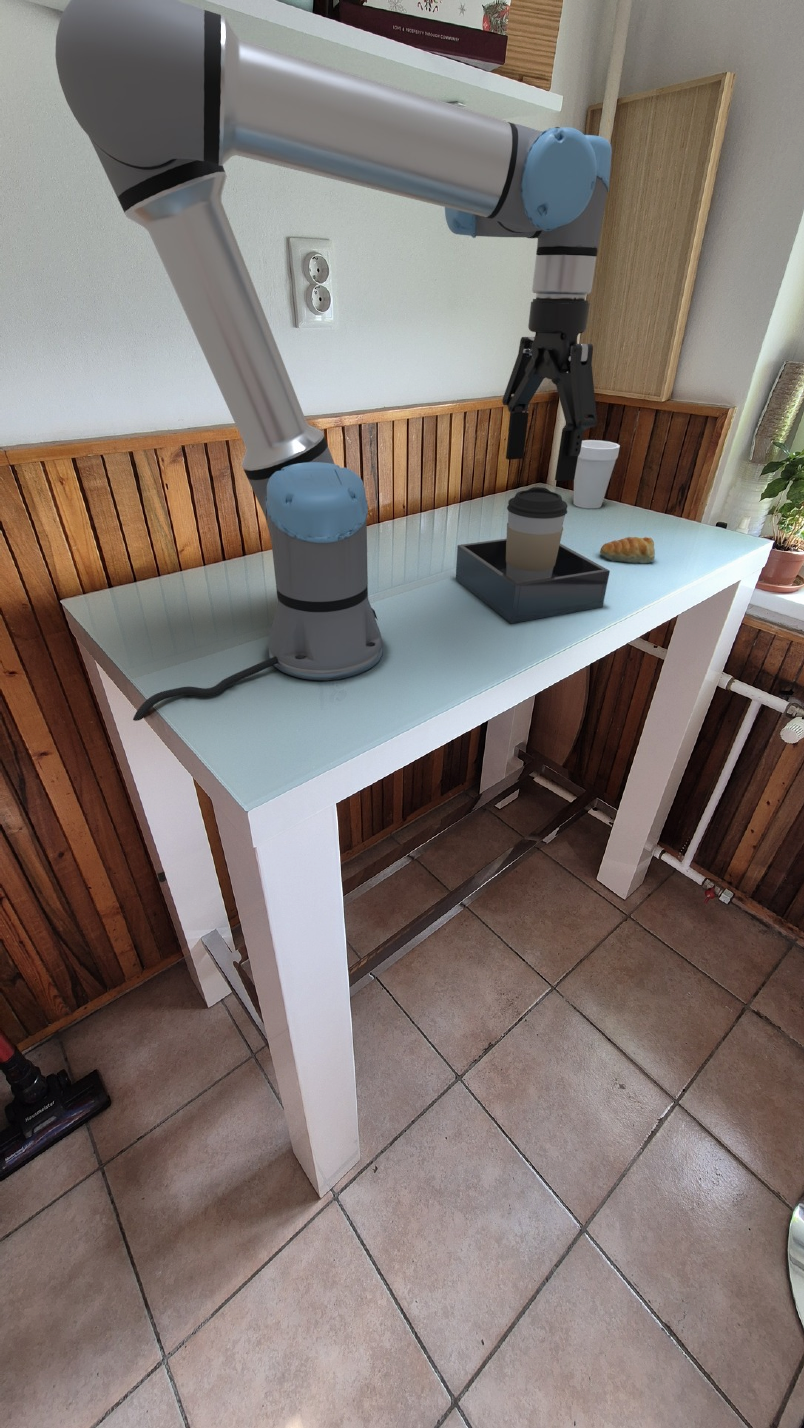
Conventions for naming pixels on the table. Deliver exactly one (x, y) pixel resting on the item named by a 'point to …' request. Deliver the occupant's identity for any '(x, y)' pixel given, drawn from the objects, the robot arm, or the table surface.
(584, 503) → the foam cup
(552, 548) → the coffee cup
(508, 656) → the table surface
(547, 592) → the dark grey open box
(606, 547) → the pastry
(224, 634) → the table surface
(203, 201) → the robot arm
